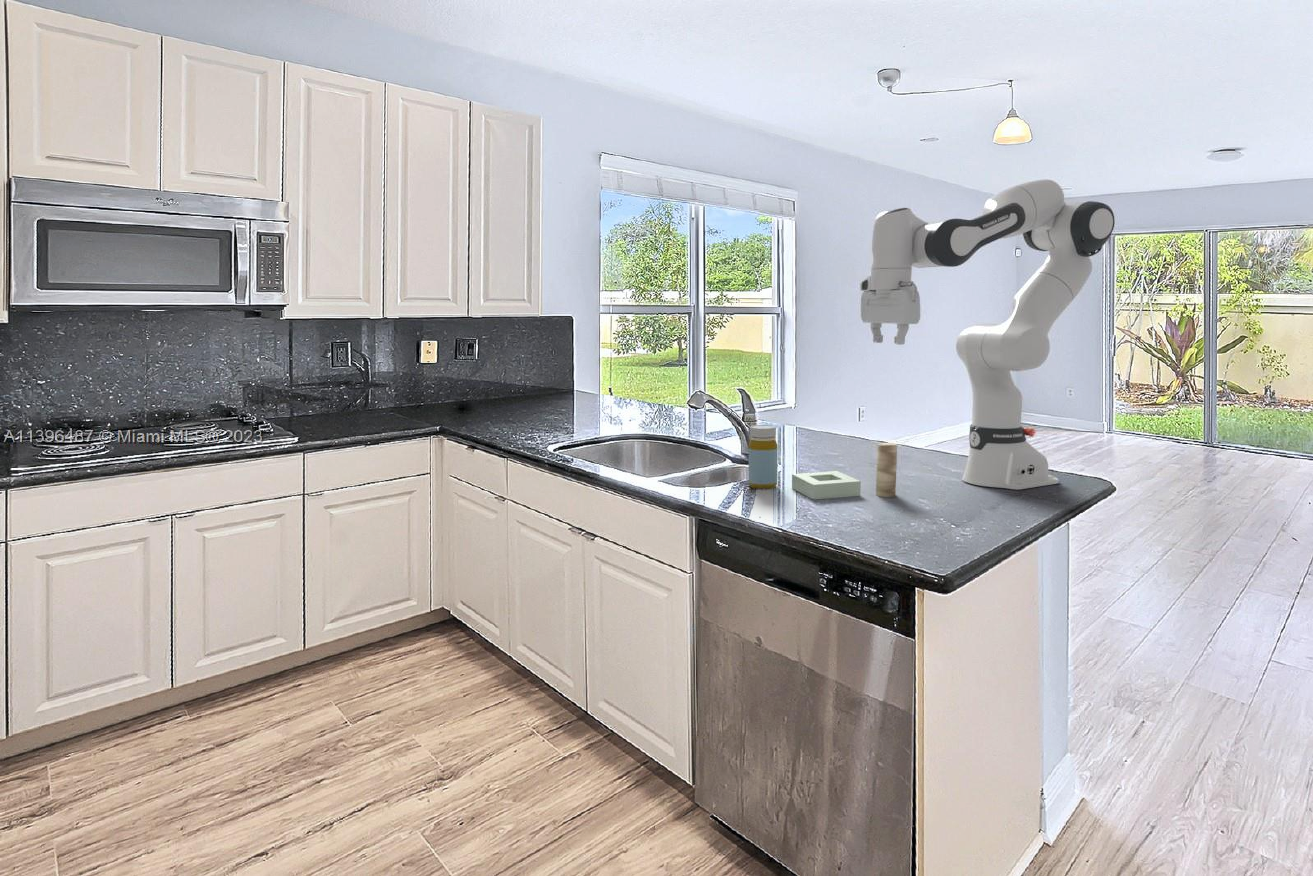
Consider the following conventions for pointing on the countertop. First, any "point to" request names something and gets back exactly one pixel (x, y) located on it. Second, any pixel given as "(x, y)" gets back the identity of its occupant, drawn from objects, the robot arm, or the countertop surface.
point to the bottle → (763, 457)
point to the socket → (826, 485)
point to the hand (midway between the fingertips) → (888, 343)
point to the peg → (886, 469)
